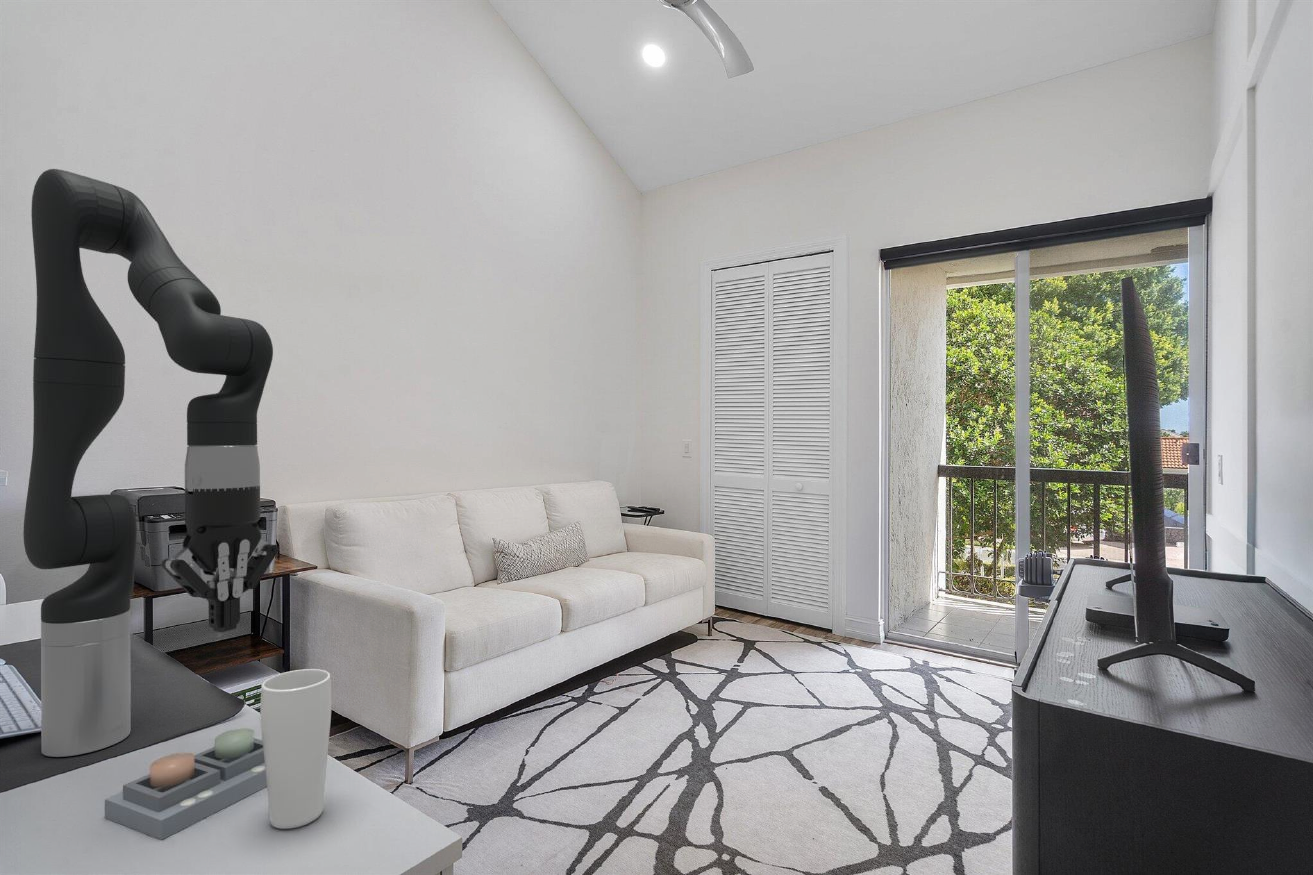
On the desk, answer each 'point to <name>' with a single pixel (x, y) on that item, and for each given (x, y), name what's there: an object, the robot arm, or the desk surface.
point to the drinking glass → (296, 744)
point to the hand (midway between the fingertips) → (224, 630)
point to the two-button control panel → (188, 793)
